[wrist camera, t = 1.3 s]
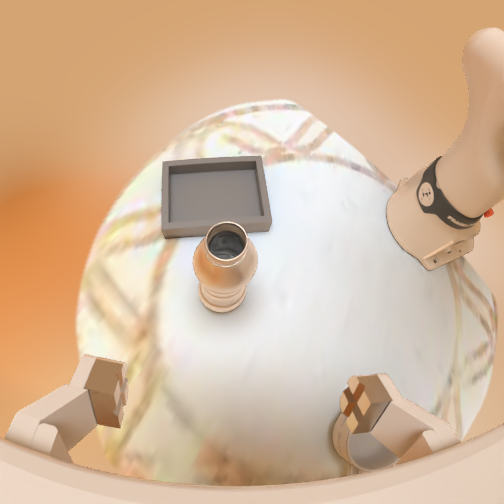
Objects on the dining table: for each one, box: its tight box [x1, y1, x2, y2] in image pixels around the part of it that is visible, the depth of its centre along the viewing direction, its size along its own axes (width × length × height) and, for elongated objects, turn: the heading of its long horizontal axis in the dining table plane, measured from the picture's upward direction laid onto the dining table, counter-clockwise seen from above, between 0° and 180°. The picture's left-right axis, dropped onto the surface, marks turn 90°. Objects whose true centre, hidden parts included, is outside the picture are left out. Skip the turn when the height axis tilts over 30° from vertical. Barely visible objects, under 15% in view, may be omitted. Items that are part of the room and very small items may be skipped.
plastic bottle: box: [193, 221, 258, 312], centre depth 35 cm, size 6×7×20 cm
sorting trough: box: [162, 156, 272, 239], centre depth 48 cm, size 16×12×4 cm
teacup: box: [333, 413, 400, 475], centre depth 35 cm, size 14×11×8 cm
